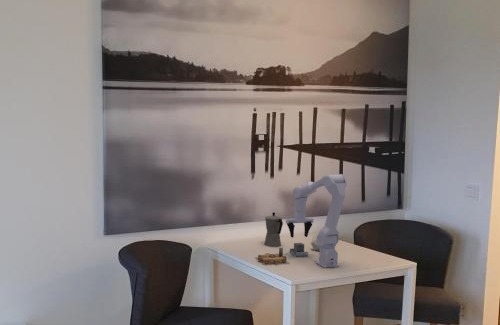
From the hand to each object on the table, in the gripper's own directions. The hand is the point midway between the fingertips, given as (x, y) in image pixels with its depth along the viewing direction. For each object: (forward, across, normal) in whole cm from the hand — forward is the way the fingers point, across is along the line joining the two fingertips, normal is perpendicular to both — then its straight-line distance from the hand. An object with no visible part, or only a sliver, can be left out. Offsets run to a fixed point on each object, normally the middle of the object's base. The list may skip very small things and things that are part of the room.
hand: (299, 236), depth 291 cm
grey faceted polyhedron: (+10, -15, -7) cm, 19 cm away
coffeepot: (+10, +5, -22) cm, 25 cm away
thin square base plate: (+9, +17, +8) cm, 21 cm away
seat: (+9, 0, 0) cm, 9 cm away
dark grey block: (+8, 0, 0) cm, 9 cm away
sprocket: (+9, +17, +8) cm, 21 cm away
